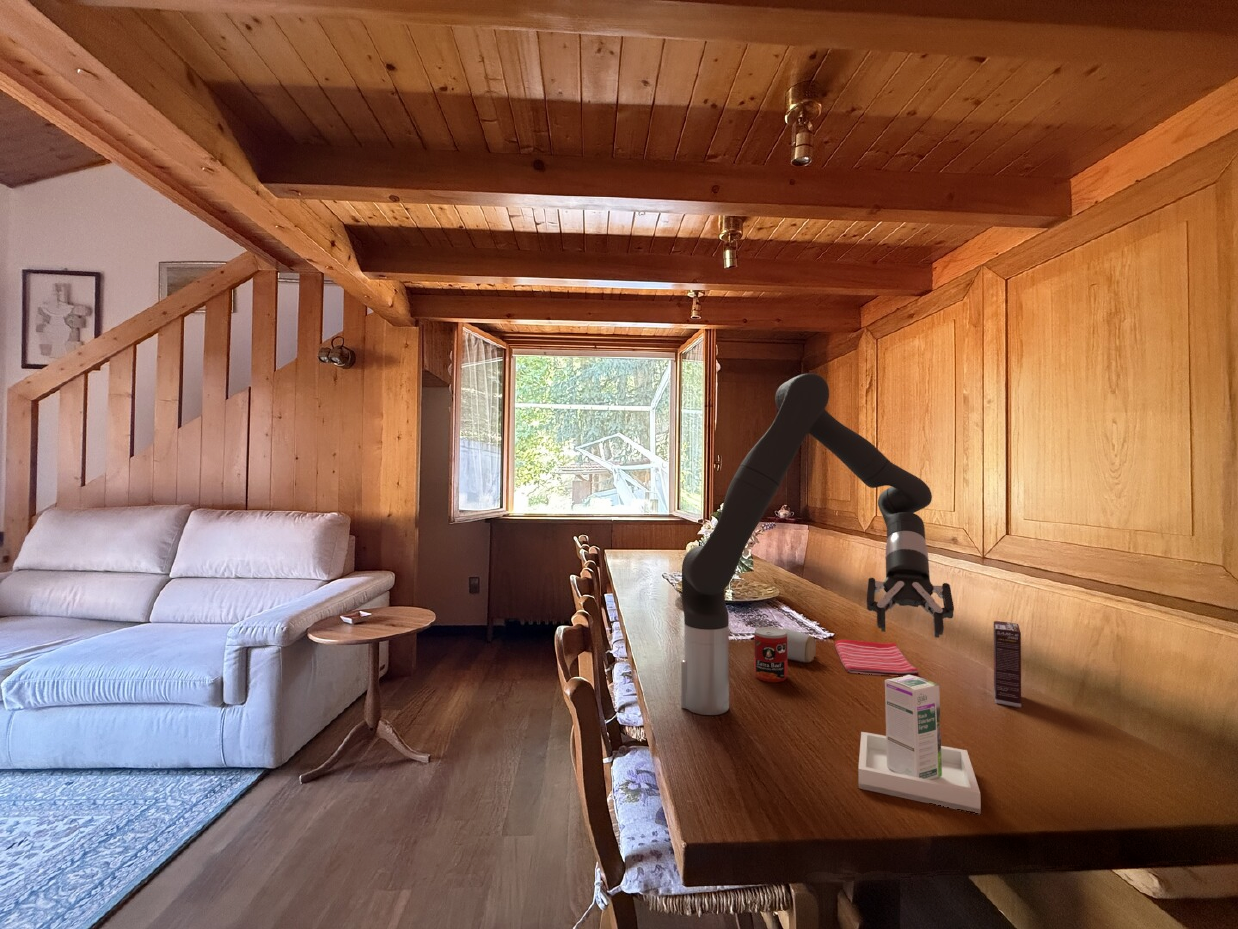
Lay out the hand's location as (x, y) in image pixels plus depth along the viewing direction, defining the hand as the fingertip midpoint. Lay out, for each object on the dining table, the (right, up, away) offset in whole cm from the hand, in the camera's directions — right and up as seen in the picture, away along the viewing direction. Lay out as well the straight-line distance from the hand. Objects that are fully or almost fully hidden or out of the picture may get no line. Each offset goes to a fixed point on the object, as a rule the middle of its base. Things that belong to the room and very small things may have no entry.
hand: (909, 632), depth 100 cm
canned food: (-15, -22, +35) cm, 44 cm away
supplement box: (+32, -21, +22) cm, 44 cm away
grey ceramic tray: (-5, -20, -11) cm, 23 cm away
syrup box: (-5, -20, -10) cm, 23 cm away
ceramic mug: (-4, -22, +49) cm, 54 cm away
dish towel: (+15, -22, +48) cm, 55 cm away
